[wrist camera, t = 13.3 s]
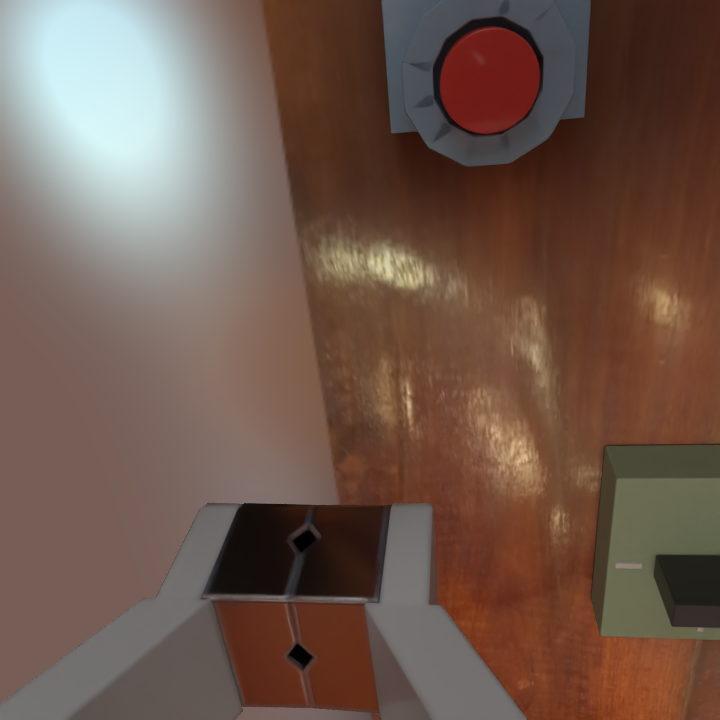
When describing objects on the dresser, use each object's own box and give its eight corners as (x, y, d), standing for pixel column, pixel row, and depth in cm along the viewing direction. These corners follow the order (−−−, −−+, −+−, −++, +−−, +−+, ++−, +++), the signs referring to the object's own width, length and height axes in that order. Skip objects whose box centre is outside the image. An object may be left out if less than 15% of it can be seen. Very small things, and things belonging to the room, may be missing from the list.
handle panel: (604, 445, 37) (617, 481, 34) (818, 442, 35) (849, 480, 33) (590, 597, 43) (600, 639, 40) (775, 601, 41) (798, 645, 38)
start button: (438, 31, 25) (437, 33, 23) (536, 21, 24) (542, 22, 23) (442, 130, 27) (441, 137, 25) (533, 122, 26) (538, 130, 25)
